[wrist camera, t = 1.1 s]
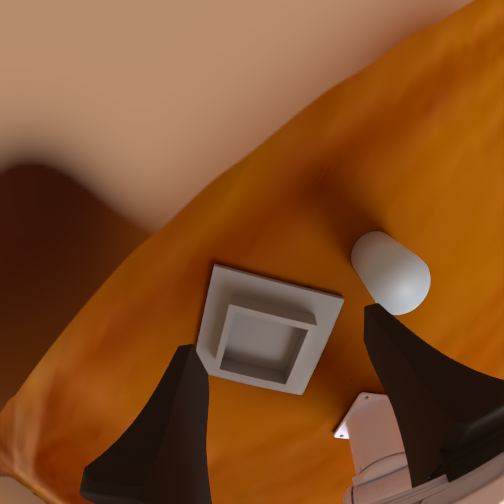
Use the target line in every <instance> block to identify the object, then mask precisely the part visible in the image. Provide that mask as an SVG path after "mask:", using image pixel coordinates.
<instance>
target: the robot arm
mask: <svg viewBox="0 0 504 504" xmlns="http://www.w3.org/2000/svg"><path fill="white" fill-rule="evenodd" d="M364 342H365V345H366V348H367V351H368V354H369V357H370V360H371V362H372V364H373V366H374V369H375V371H376V373H377V375H378V377H379V379H380V381H381V383H382V385H383V388H384V390H385V392H386V394H387V395H382V394H373V393H365V392H362V393H360V394H359V395H358V397H357V398H356V400H355V402H354V403H353V405H352V407H351V408H350V410H349V411H348V413H347V414H346V416H345V418H344V419H343V421H342V422H341V424H340V425H339V427H338V428H337V430H336V431H335V433H334V437H336V438H347V439H349V442H350V447H351V452H352V457H353V462H354V467H355V473H356V476H355V477H353V478H352V480H353V486H352V487H349V488H348V489H347V490H346V493H345V494H344V497H343V504H500V503H502V502H503V501H504V380H502V379H498V378H495V377H491V376H488V375H486V374H483V373H481V372H478V371H476V370H473V369H471V368H469V367H467V366H465V365H463V364H461V363H458V362H456V361H455V360H453V359H451V358H449V357H447V356H446V355H444V354H442V353H441V352H439V351H438V350H436V349H435V348H433V347H432V346H430V345H429V344H427V343H426V342H425V341H423V340H422V339H421V338H419V337H418V336H417V335H415V334H414V333H413V332H412V331H410V330H409V329H408V328H407V327H406V326H404V325H403V324H402V323H401V322H400V321H398V320H397V319H396V318H395V317H394V316H393V315H392V314H390V313H389V312H388V311H387V310H386V309H385V308H384V307H383V306H382V305H380V304H379V303H375V304H372V305H368V306H365V307H364ZM366 396H367V397H366ZM208 405H209V382H208V373H207V371H206V369H205V367H204V365H203V363H202V361H201V360H200V358H199V356H198V354H197V352H196V350H195V348H194V346H193V344H189V345H183V346H179V347H178V348H177V350H176V352H175V354H174V356H173V358H172V360H171V362H170V364H169V366H168V368H167V369H166V371H165V373H164V375H163V377H162V379H161V380H160V382H159V384H158V386H157V388H156V389H155V391H154V393H153V394H152V396H151V397H150V399H149V401H148V402H147V404H146V405H145V407H144V408H143V410H142V411H141V412H140V414H139V415H138V417H137V418H136V419H135V420H134V422H133V423H132V424H131V425H130V427H129V428H128V429H127V430H126V431H125V432H124V433H123V434H122V436H121V437H120V438H119V439H118V440H117V441H116V442H115V443H114V444H113V445H112V446H111V447H110V448H109V449H107V450H106V451H105V452H104V453H103V454H102V455H101V456H99V457H98V458H97V459H95V460H94V461H93V462H92V463H90V464H89V465H88V466H86V467H85V468H84V472H83V477H82V482H81V487H80V495H81V496H82V497H83V498H85V499H87V500H89V501H90V502H92V503H94V504H212V501H211V494H210V487H209V478H208V468H207V454H206V434H207V420H208Z"/></svg>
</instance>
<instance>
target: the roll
mask: <svg viewBox="0 0 504 504" xmlns="http://www.w3.org/2000/svg"><path fill="white" fill-rule="evenodd" d="M351 263H352V266H353V268H354V270H355V272H356V273H357V275H358V276H359V278H360V279H361V281H362V282H363V284H364V285H365V287H366V288H367V290H368V291H369V293H370V294H371V296H372V297H373V299H374V300H375V302H376V303H379V304H380V305H382V306H383V307H384V308H385V309H386V310H387V311H388V312H389V313H390V314H392V315H401V314H405V313H408V312H410V311H412V310H413V309H415V308H416V307H417V306H419V305H420V303H421V302H422V301H423V300H424V298H425V297H426V295H427V293H428V290H429V287H430V272H429V269H428V267H427V265H426V264H425V262H424V261H423V260H421V259H420V258H419V257H418V256H416V255H415V254H414V253H412V252H411V251H410V250H408V249H407V248H406V247H404V246H403V245H402V244H400V243H399V242H398V241H396V240H395V239H393V238H392V237H391V236H389V235H388V234H386V233H384V232H381V231H372V232H368V233H366V234H364V235H363V236H361V237H360V238H359V239H358V240H357V241H356V243H355V244H354V246H353V249H352V252H351Z"/></svg>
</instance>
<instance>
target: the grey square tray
mask: <svg viewBox="0 0 504 504" xmlns="http://www.w3.org/2000/svg"><path fill="white" fill-rule="evenodd" d="M343 302H344V297H342V296H338V295H334V294H330V293H326V292H322V291H318V290H314V289H310V288H306V287H302V286H298V285H294V284H291V283H287V282H283V281H279V280H275V279H271V278H267V277H264V276H260V275H256V274H252V273H248V272H245V271H241V270H237V269H233V268H230V267H226V266H222V265H219V264H215V265H214V268H213V273H212V277H211V282H210V286H209V291H208V295H207V300H206V305H205V309H204V314H203V319H202V323H201V328H200V333H199V338H198V343H197V348H196V352H197V354H198V356H199V358H200V360H201V361H202V363H203V365H204V367H205V369H206V371H207V373H208V374H210V375H213V376H217V377H221V378H225V379H229V380H233V381H237V382H241V383H245V384H249V385H254V386H258V387H263V388H267V389H272V390H277V391H282V392H287V393H292V394H298V395H302V394H303V392H304V390H305V388H306V386H307V384H308V382H309V380H310V378H311V376H312V373H313V371H314V369H315V367H316V365H317V363H318V361H319V358H320V356H321V354H322V352H323V350H324V347H325V345H326V343H327V340H328V338H329V336H330V334H331V331H332V329H333V326H334V324H335V322H336V319H337V317H338V314H339V312H340V310H341V307H342V305H343Z"/></svg>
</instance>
